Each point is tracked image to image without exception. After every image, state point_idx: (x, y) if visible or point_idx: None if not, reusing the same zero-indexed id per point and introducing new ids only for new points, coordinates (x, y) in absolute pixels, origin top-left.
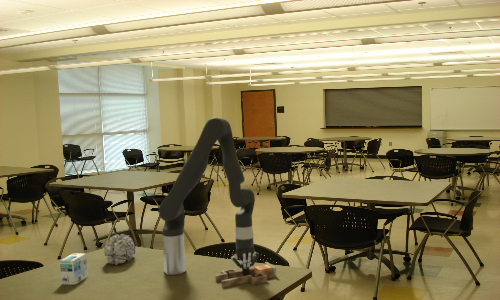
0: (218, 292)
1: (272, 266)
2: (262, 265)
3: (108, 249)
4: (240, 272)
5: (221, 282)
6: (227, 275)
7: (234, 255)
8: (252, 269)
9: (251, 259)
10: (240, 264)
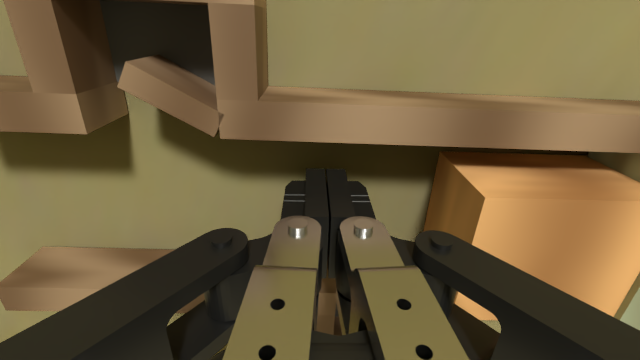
0: (11, 328)
1: (636, 316)
2: (600, 213)
3: None
4: (283, 136)
5: (12, 274)
6: (99, 127)
7: None
8: (459, 144)
9: (491, 308)
10: (214, 349)
